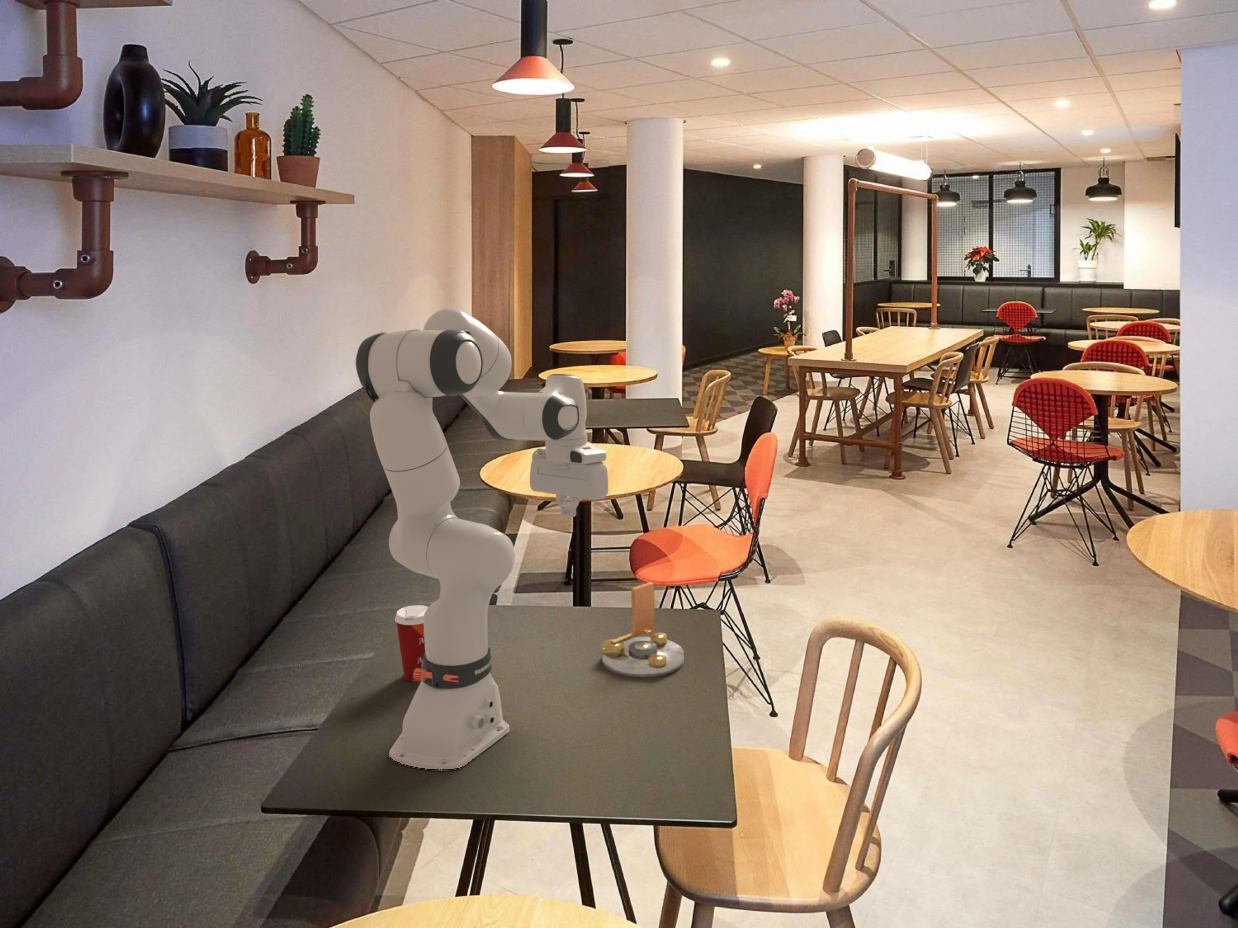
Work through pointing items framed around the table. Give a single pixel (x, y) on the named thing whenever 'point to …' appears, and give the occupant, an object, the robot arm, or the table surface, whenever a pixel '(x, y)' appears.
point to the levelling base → (646, 657)
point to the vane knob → (635, 619)
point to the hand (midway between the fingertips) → (568, 516)
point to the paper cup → (411, 638)
